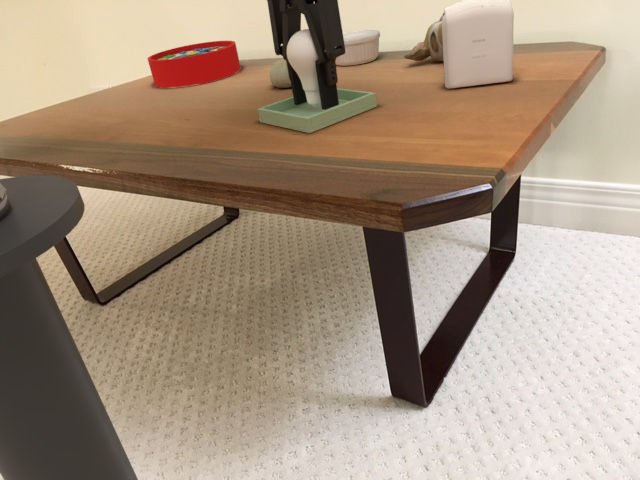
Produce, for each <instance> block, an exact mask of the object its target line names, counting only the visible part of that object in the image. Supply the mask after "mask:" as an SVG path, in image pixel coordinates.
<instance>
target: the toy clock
mask: <svg viewBox="0 0 640 480" xmlns="http://www.w3.org/2000/svg"><path fill="white" fill-rule="evenodd" d="M147 63H148V65H149V69H150V73H151V76H152V79H153V83H154V87H156V88H161V89H178V88H187V87H192V86H198V85H203V84H207V83H212V82H215V81H220V80H222V79H226V78H229V77H231V76H234V75H236V74H237V73H239V72H241V70H242V67H241V62H240V58H239V52H238V49H237V44H236V42H235V41H234V40H214V41H206V42H199V43H193V44H188V45H184V46H178V47H173V48H170V49H165V50H163V51H160V52H156V53H153V54H151V55H150V56H148V57H147Z"/></svg>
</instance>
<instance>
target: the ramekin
mask: <svg viewBox="0 0 640 480" xmlns="http://www.w3.org/2000/svg"><path fill="white" fill-rule="evenodd" d="M380 37H381V32H380V31H379V30H378V29H363V30H356V31H355V30H354V31H349V32H344V33H343V39H344V45H345V54H344V55H341V56H339V57H337V58H336V61H335V63H336V66H340V67H341V66H343V67H347V66H348V67H349V66H357V65H362V64H366V63H371V62H373V61H375V60H376V59H377V58H378V56H379V51H380V50H379V49H380Z"/></svg>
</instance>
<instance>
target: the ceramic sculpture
mask: <svg viewBox="0 0 640 480" xmlns="http://www.w3.org/2000/svg"><path fill="white" fill-rule="evenodd" d="M443 16H444V12H443V13H442V15H441V16H440V18H439V20H438V21H435V22H433V23H432V24H430V25H429V27H428V28H427V30H426V33H425V37H424V40H423V41H421V42H418V43H417V44H416V45H415V46H414V47H413V48H412V49H411V51H410V52H409V54H406V55H404V56H403V57H404V59H406V60H411V61H414V62H415V61H416V62H420V61H421V62H422V61H425V60H426V59H428V58H429V57H430V58H431V59H433V60H435V61H437V62H444V60H443V38H442V21H443Z"/></svg>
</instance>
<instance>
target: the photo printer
mask: <svg viewBox="0 0 640 480" xmlns="http://www.w3.org/2000/svg"><path fill="white" fill-rule="evenodd" d="M443 13H444V16H443V21H442V38H443V60H444V61H443V77H444V78H443V79H444V87H445V88H446V89H449V90H452V89H458V88H466V87H475V86H481V85H489V84H490V85H491V84H499V83H508V82H511V81H512V80H513V79H514V18H515V17H514V10H513V7H512V0H461V1H458V2H455V3H454V4H451V5H450V6H448V7H446V8H444V9H443Z"/></svg>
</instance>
